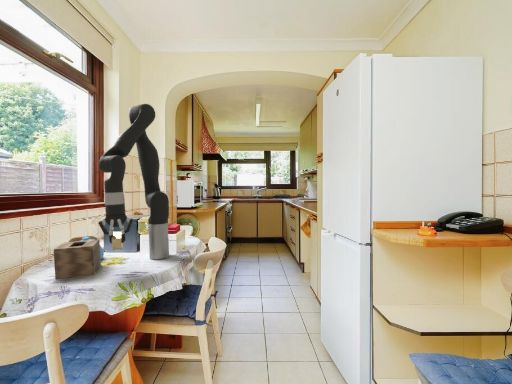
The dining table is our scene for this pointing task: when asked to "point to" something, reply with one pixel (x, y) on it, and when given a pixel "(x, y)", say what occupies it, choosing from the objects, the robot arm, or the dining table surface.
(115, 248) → the beige block
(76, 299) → the dining table surface
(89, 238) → the tin
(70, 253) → the money box
